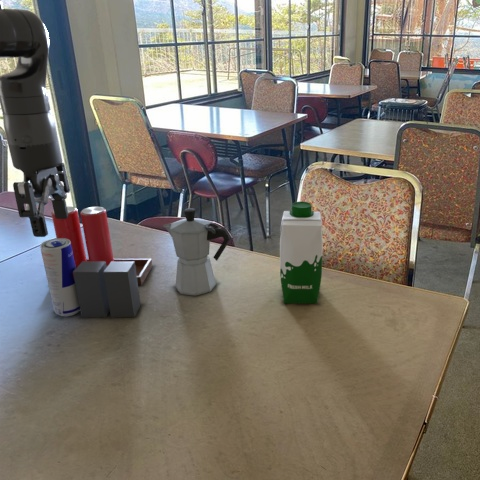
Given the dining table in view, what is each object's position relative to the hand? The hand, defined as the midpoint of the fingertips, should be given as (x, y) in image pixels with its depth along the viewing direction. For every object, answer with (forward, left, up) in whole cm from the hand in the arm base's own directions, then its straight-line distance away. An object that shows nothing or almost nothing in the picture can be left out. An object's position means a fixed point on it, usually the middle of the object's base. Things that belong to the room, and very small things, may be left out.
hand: (52, 226), depth 88 cm
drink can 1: (-5, +15, -18) cm, 23 cm away
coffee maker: (+24, +10, -18) cm, 32 cm away
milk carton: (+46, +6, -18) cm, 50 cm away
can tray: (+1, +15, -18) cm, 23 cm away
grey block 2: (+11, 0, -18) cm, 21 cm away
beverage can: (0, 0, -18) cm, 18 cm away
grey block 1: (+5, 0, -18) cm, 19 cm away
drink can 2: (+1, +15, -18) cm, 23 cm away
